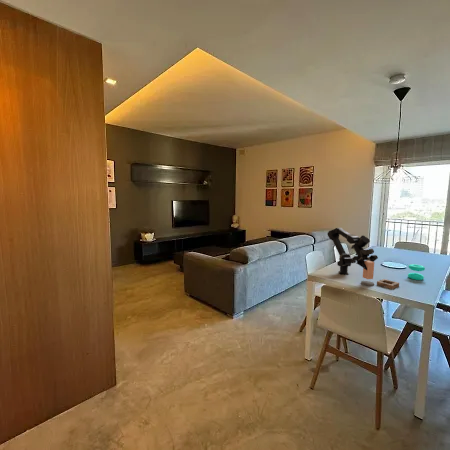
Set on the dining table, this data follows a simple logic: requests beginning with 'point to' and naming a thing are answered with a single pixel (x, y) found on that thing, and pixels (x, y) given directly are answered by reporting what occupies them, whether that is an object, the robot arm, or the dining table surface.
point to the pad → (367, 283)
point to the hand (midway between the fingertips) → (369, 269)
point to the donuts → (416, 275)
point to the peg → (368, 270)
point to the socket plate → (388, 283)
